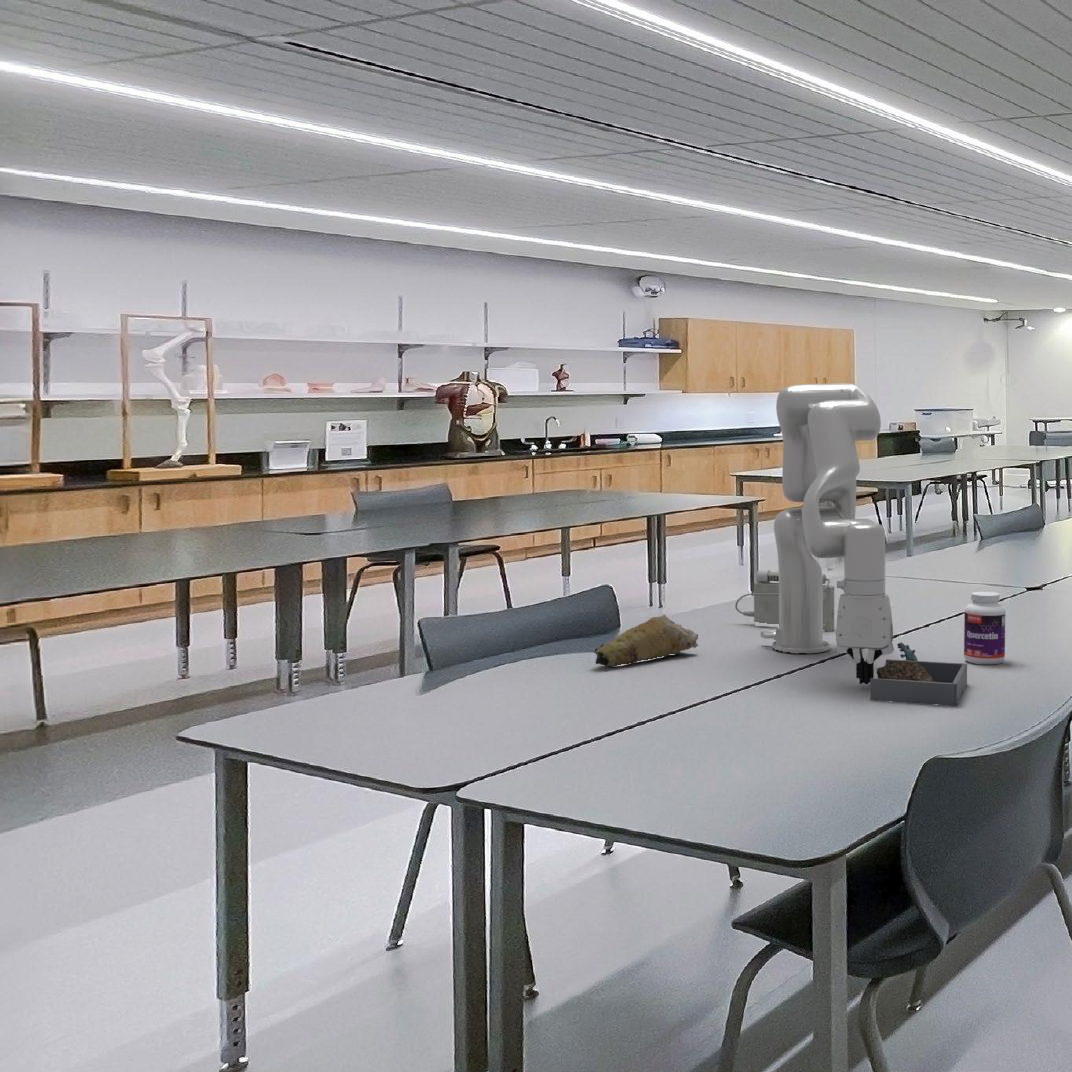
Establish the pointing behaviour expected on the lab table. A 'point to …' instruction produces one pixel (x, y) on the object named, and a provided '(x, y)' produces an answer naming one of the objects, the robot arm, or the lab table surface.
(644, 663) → the lab table surface
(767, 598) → the geiger counter
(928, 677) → the concrete sample
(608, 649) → the mineral
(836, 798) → the lab table surface
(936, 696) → the tray
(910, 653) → the sculpture
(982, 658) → the pill bottle
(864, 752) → the lab table surface
